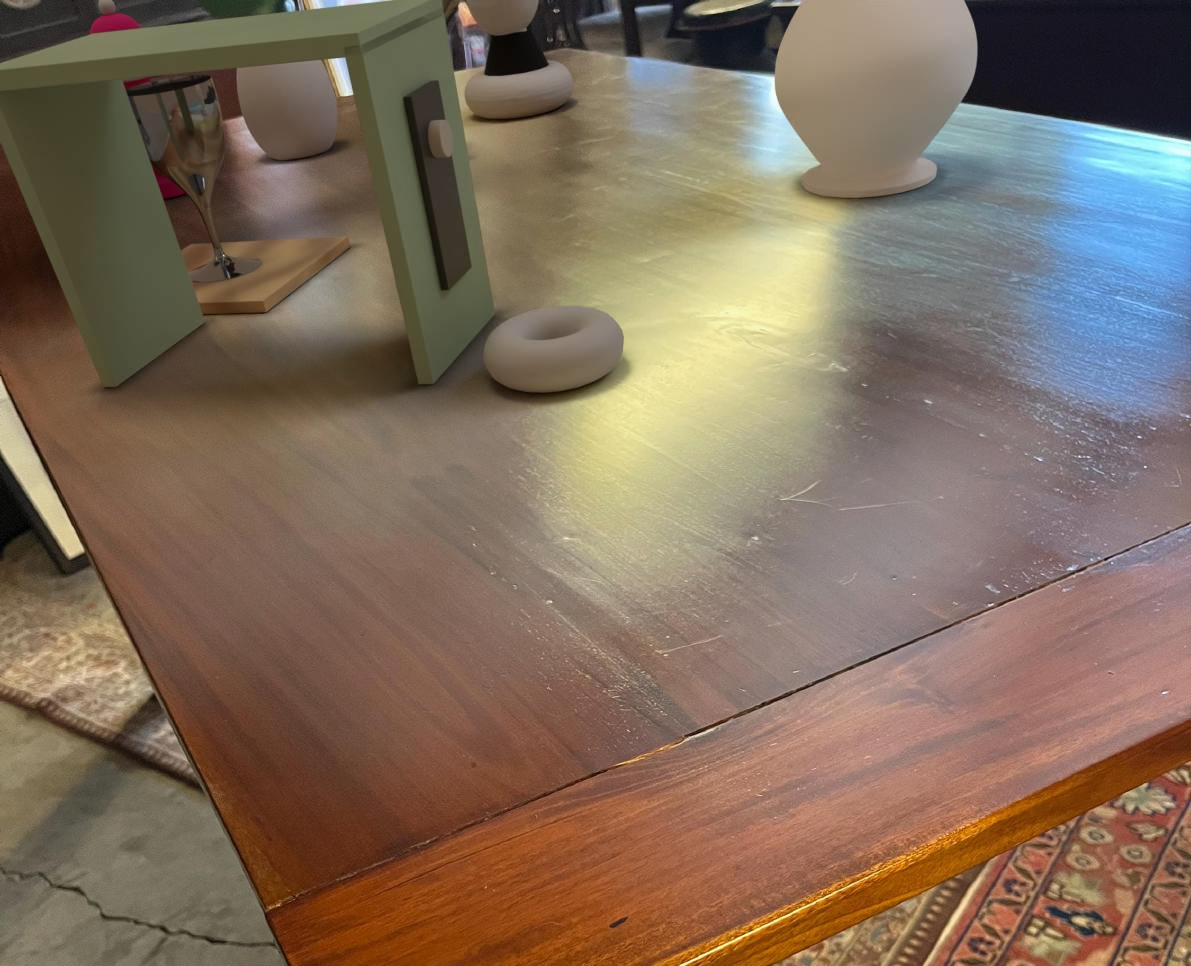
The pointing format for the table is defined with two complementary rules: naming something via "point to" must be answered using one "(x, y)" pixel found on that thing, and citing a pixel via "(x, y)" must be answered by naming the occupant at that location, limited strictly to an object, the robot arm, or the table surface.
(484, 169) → the table surface
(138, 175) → the cubby
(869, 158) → the decorative vase
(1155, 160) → the table surface
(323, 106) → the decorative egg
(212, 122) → the wine glass
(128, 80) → the pepper mill
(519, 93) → the decorative figurine
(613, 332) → the donut
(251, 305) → the cutting board
